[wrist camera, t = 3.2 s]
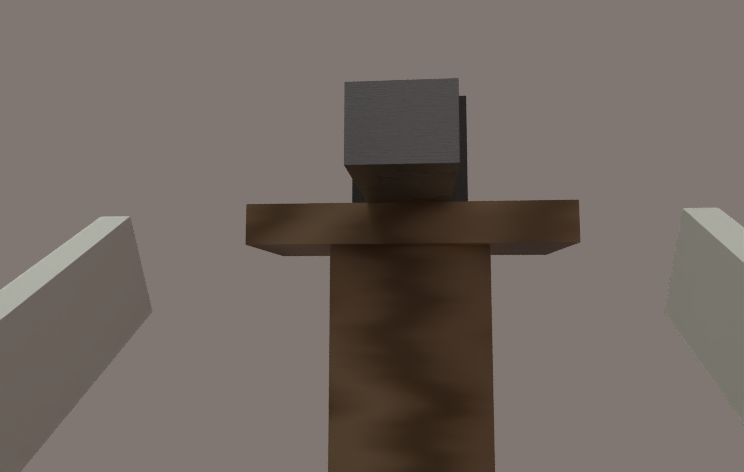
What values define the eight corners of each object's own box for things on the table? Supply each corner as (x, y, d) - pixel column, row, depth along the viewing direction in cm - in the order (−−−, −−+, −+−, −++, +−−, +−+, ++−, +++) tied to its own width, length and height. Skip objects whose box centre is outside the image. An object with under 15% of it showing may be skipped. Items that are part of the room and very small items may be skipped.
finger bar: (315, 165, 20) (317, 2, 21) (362, 222, 35) (362, 126, 36) (489, 161, 20) (485, -5, 20) (461, 221, 35) (460, 124, 35)
